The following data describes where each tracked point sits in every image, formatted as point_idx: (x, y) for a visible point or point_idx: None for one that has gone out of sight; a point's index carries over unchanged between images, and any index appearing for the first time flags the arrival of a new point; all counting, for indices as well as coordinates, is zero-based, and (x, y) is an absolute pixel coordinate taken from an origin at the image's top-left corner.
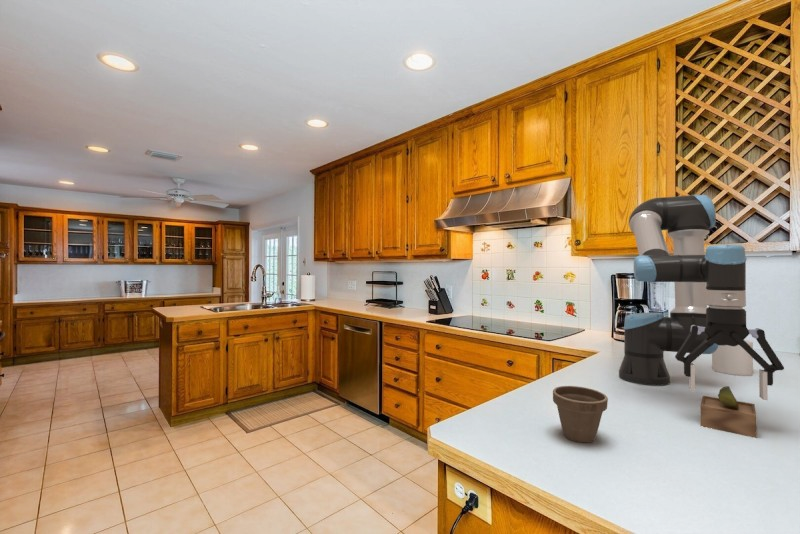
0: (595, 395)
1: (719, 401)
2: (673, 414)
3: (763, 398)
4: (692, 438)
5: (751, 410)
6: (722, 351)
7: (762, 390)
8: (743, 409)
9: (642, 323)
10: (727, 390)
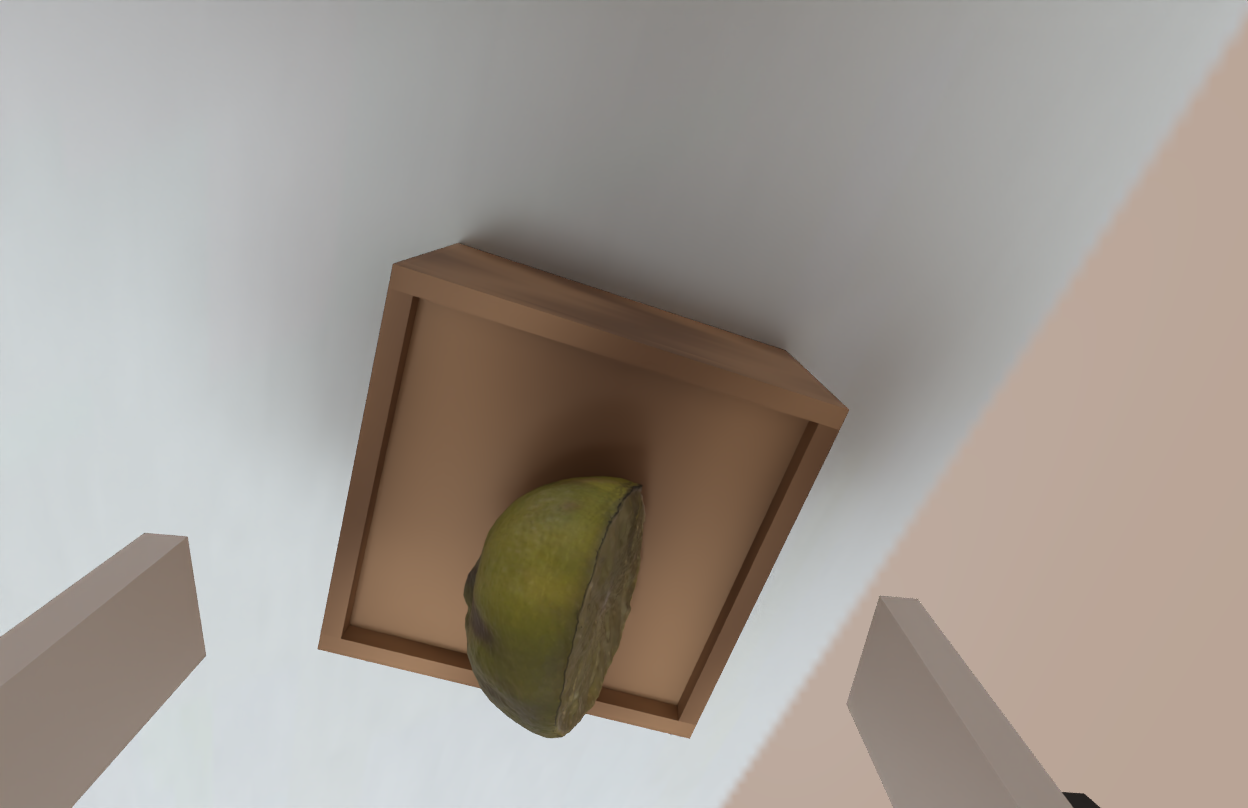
0: None
1: (543, 366)
2: (222, 338)
3: (853, 717)
4: (316, 744)
5: (737, 558)
6: None
7: (897, 778)
8: (679, 554)
9: None
10: (524, 725)
